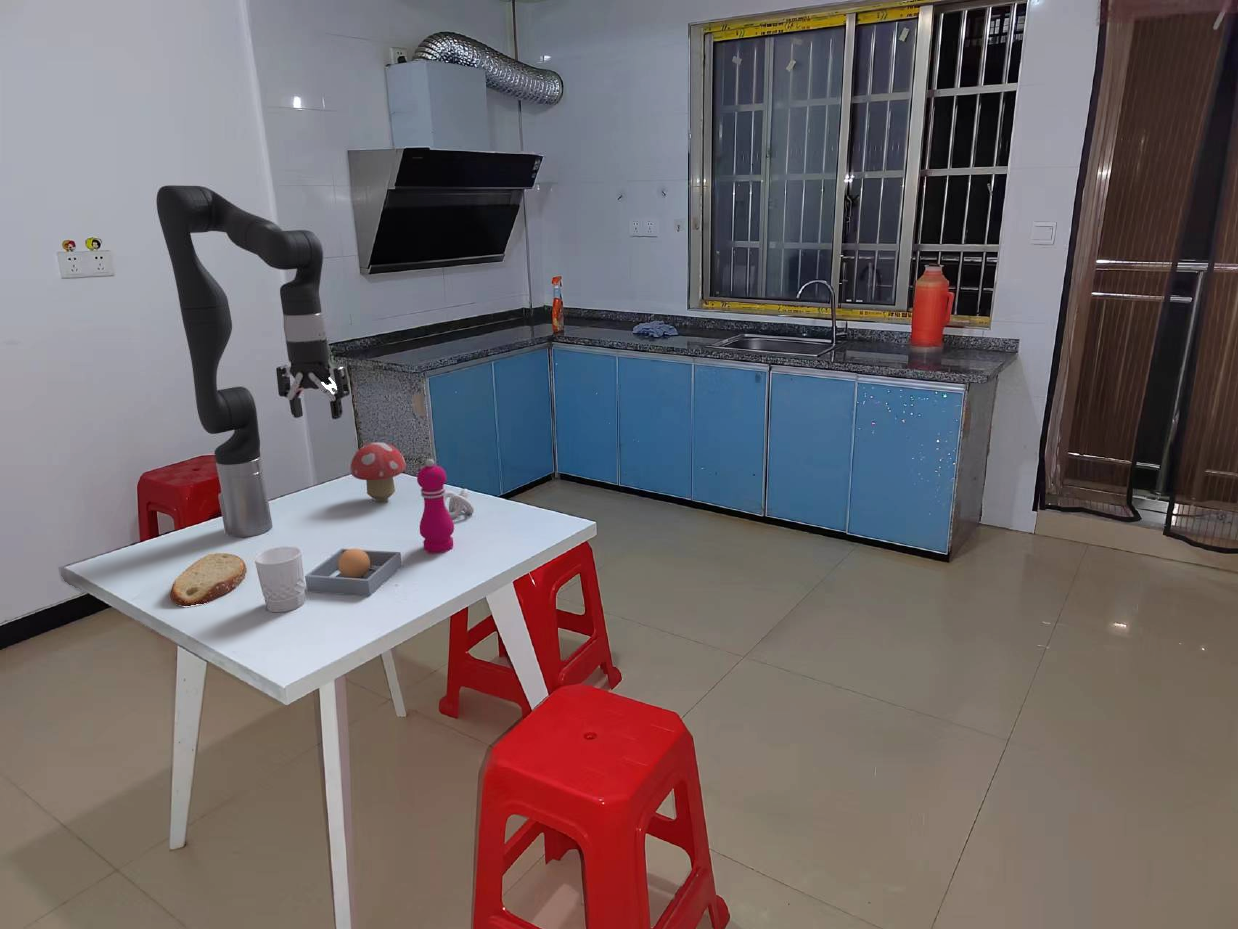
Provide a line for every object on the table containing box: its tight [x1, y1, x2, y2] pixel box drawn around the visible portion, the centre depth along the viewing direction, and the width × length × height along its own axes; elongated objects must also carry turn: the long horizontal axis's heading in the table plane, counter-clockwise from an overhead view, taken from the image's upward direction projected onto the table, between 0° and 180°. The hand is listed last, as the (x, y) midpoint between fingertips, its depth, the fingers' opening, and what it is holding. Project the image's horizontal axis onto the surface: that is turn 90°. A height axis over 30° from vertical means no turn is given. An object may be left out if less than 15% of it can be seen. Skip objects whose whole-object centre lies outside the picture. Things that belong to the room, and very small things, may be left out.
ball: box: [338, 548, 371, 578], centre depth 155 cm, size 6×6×6 cm
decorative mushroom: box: [350, 442, 407, 502], centre depth 197 cm, size 13×13×15 cm
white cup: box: [253, 545, 306, 613], centre depth 145 cm, size 8×8×10 cm
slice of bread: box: [169, 552, 248, 607], centre depth 156 cm, size 18×18×4 cm
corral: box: [304, 547, 403, 597], centre depth 156 cm, size 13×13×3 cm
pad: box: [334, 567, 378, 579], centre depth 156 cm, size 9×9×1 cm
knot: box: [444, 488, 474, 520], centre depth 188 cm, size 8×8×6 cm
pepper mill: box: [416, 458, 455, 554], centre depth 167 cm, size 7×7×20 cm
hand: (317, 417), depth 158 cm, fingers open, 8 cm apart
